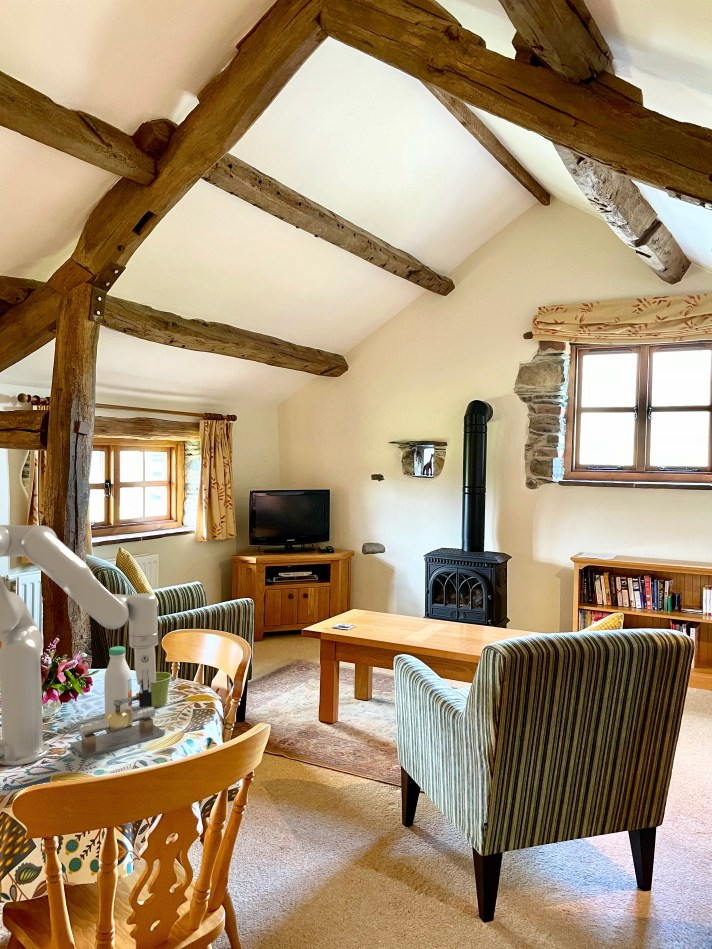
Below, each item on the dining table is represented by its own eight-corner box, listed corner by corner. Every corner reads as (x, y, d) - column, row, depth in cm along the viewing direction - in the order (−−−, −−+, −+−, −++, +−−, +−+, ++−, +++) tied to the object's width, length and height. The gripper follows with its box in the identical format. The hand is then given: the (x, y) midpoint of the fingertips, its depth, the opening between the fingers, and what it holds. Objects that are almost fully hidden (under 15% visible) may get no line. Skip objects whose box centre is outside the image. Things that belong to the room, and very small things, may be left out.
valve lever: (115, 708, 189) (115, 701, 189) (112, 706, 190) (111, 699, 190) (150, 698, 195) (150, 692, 195) (147, 696, 197) (146, 690, 197)
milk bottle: (123, 720, 205) (122, 652, 205) (99, 718, 207) (98, 650, 206) (137, 710, 213) (135, 644, 212) (113, 708, 215) (112, 643, 214)
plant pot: (155, 712, 211) (154, 683, 211) (134, 706, 216) (133, 678, 216) (178, 702, 219) (178, 674, 219) (157, 697, 224) (156, 670, 224)
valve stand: (84, 759, 179) (83, 721, 179) (70, 746, 187) (69, 710, 187) (164, 735, 194) (163, 700, 194) (148, 724, 201) (148, 691, 201)
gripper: (159, 645, 186) (161, 713, 186) (156, 631, 200) (158, 695, 200) (129, 648, 183) (131, 717, 184) (129, 634, 197) (130, 698, 198)
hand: (145, 705), depth 192 cm, fingers closed
